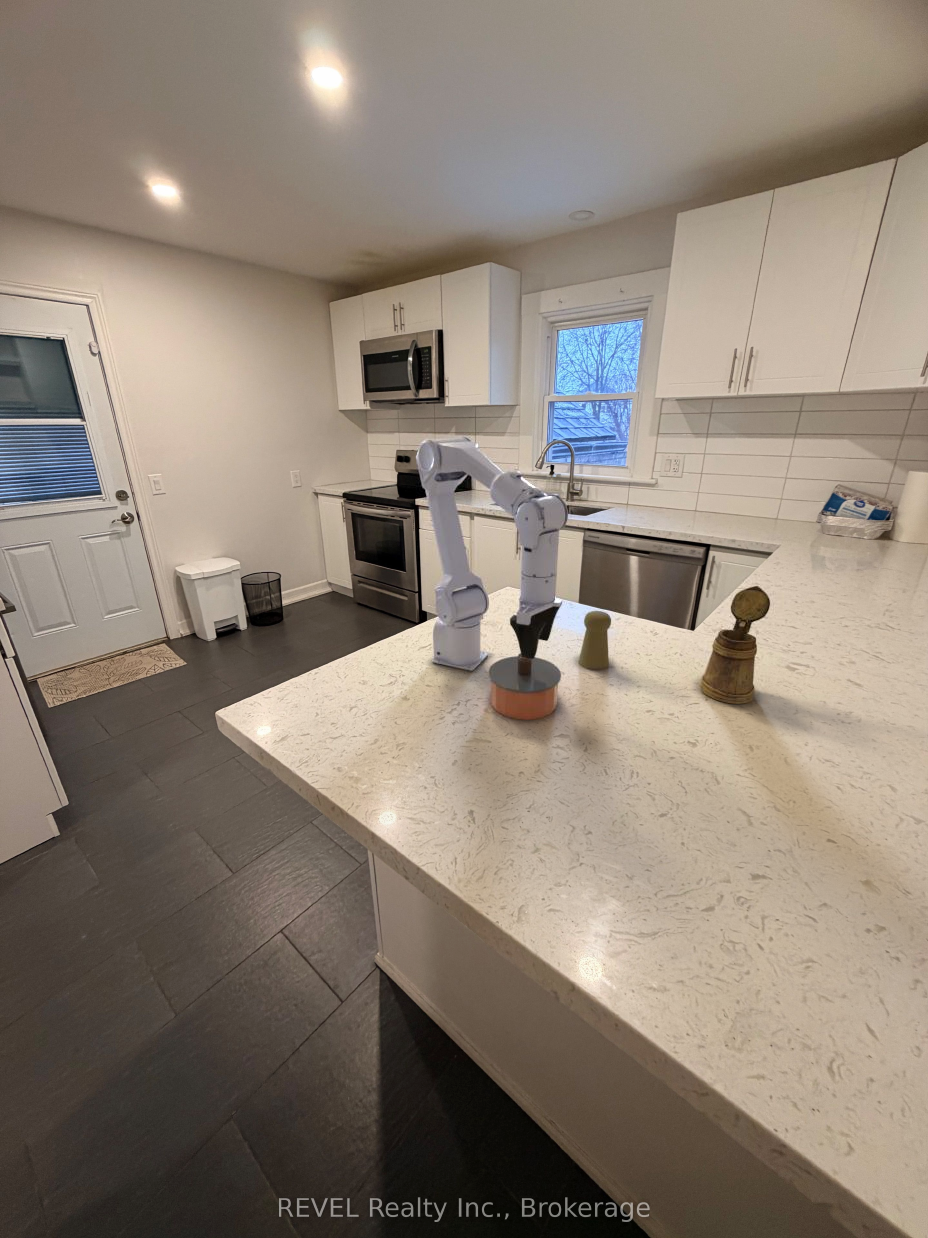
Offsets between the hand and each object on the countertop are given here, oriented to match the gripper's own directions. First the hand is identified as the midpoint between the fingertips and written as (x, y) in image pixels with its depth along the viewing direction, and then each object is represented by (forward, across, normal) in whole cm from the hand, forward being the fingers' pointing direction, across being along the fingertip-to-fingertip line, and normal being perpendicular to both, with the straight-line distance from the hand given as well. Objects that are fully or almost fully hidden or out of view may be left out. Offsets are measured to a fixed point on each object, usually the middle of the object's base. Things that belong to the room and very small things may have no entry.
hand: (535, 647), depth 85 cm
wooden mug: (+10, +20, -32) cm, 39 cm away
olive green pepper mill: (+10, +19, -7) cm, 22 cm away
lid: (+5, -1, +1) cm, 5 cm away
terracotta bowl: (+10, -1, +1) cm, 10 cm away
